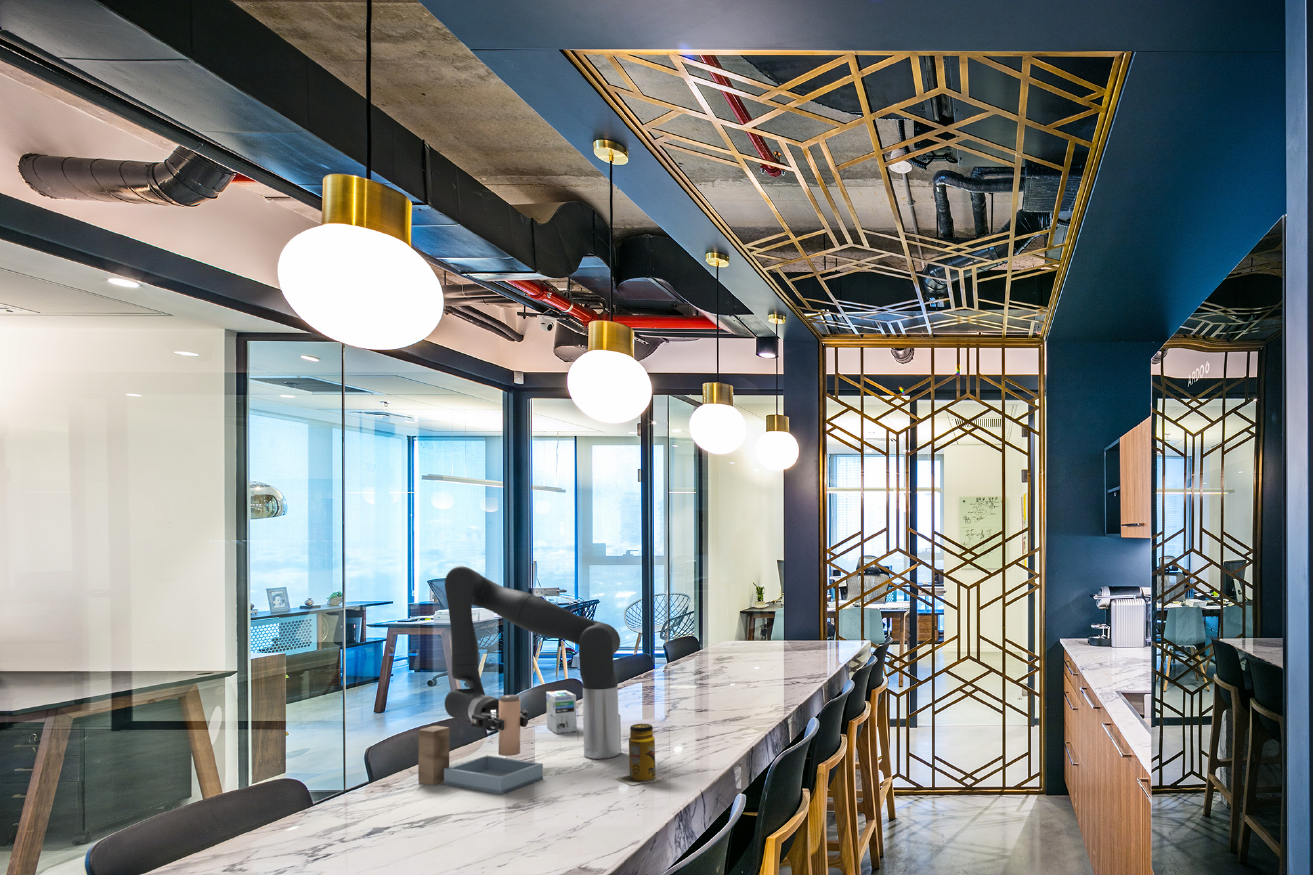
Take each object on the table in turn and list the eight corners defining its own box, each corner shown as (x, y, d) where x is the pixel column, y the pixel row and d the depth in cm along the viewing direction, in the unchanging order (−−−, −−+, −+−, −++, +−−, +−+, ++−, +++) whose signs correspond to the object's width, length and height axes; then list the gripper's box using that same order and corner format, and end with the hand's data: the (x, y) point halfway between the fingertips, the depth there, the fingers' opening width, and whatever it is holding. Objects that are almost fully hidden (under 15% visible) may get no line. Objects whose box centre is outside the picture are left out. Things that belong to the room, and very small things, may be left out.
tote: (487, 770, 206) (486, 755, 206) (542, 779, 196) (542, 763, 197) (444, 784, 194) (444, 768, 195) (501, 794, 185) (501, 778, 185)
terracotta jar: (508, 749, 198) (509, 693, 200) (524, 752, 195) (524, 695, 197) (493, 754, 194) (494, 697, 196) (509, 756, 191) (510, 698, 193)
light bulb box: (577, 731, 247) (576, 694, 249) (555, 734, 245) (554, 696, 246) (567, 725, 257) (566, 689, 258) (545, 727, 254) (545, 691, 256)
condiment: (663, 779, 193) (661, 725, 195) (631, 786, 188) (630, 730, 190) (645, 773, 199) (644, 720, 201) (615, 779, 194) (614, 725, 196)
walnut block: (434, 777, 201) (434, 725, 203) (449, 779, 198) (449, 727, 200) (418, 782, 197) (418, 729, 198) (433, 785, 194) (433, 731, 196)
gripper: (459, 699, 204) (484, 710, 190) (514, 693, 212) (542, 703, 198) (459, 731, 203) (484, 745, 189) (514, 724, 211) (542, 736, 197)
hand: (513, 723), depth 193 cm, fingers closed on terracotta jar, 5 cm apart
